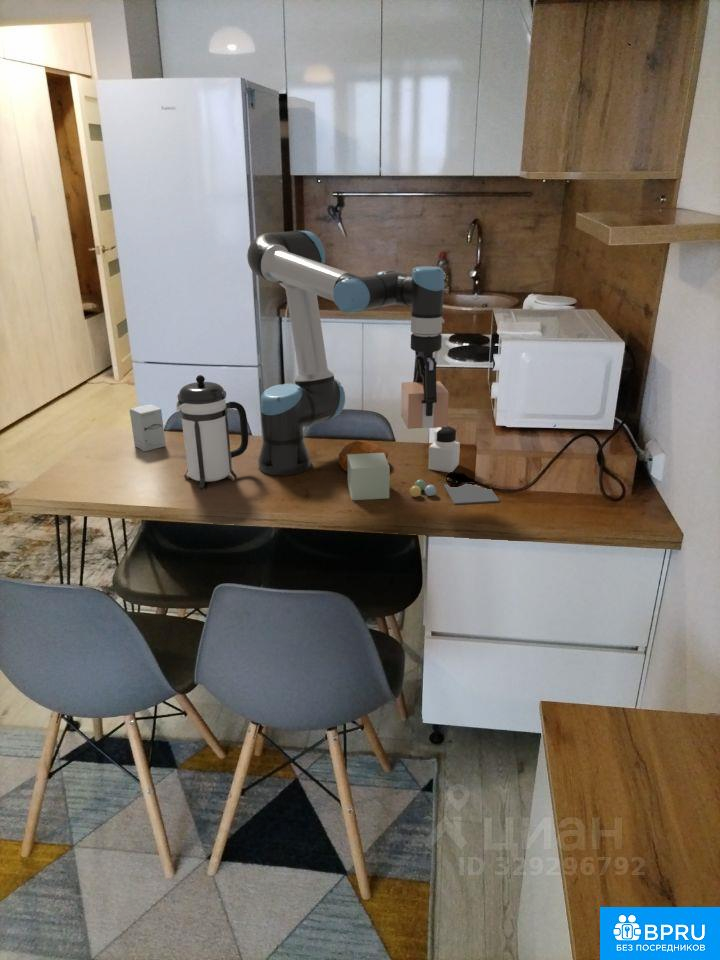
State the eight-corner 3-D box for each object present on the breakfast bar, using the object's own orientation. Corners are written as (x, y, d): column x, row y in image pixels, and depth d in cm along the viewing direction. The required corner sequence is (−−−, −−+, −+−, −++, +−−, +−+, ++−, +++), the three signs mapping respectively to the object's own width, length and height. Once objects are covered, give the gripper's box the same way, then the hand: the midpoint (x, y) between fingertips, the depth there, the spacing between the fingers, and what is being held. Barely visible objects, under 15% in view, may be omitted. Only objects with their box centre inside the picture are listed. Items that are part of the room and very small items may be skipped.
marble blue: (425, 498, 182) (426, 487, 181) (423, 493, 185) (423, 483, 184) (436, 497, 183) (437, 487, 181) (434, 492, 185) (434, 482, 184)
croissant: (333, 480, 199) (331, 455, 195) (347, 453, 212) (345, 430, 208) (382, 483, 196) (381, 458, 192) (393, 456, 209) (392, 432, 205)
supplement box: (145, 452, 214) (139, 413, 209) (134, 446, 219) (128, 408, 214) (166, 446, 219) (161, 408, 214) (155, 440, 224) (150, 403, 219)
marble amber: (410, 499, 182) (411, 488, 181) (408, 494, 185) (408, 484, 183) (422, 498, 182) (422, 488, 181) (419, 493, 185) (420, 483, 184)
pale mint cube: (351, 500, 181) (351, 468, 178) (347, 484, 191) (347, 454, 187) (389, 498, 182) (389, 466, 179) (383, 482, 192) (383, 452, 188)
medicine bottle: (459, 464, 203) (461, 426, 198) (451, 473, 197) (453, 433, 193) (436, 461, 206) (437, 422, 201) (427, 469, 200) (429, 430, 195)
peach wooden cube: (407, 428, 172) (408, 393, 168) (400, 415, 181) (401, 382, 178) (447, 427, 173) (448, 392, 169) (438, 414, 182) (439, 381, 179)
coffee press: (229, 492, 187) (219, 384, 174) (174, 488, 190) (161, 381, 177) (251, 468, 202) (243, 367, 190) (200, 464, 205) (189, 364, 193)
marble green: (415, 492, 186) (415, 482, 184) (413, 488, 188) (413, 478, 187) (426, 492, 186) (426, 481, 185) (424, 487, 189) (424, 477, 187)
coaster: (454, 504, 179) (454, 503, 178) (443, 485, 190) (443, 484, 189) (499, 501, 180) (499, 500, 180) (486, 483, 191) (486, 481, 191)
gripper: (452, 343, 158) (448, 434, 167) (431, 323, 179) (428, 406, 188) (420, 344, 157) (417, 436, 166) (403, 324, 178) (401, 407, 187)
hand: (423, 420), depth 177 cm, fingers closed on peach wooden cube, 10 cm apart
